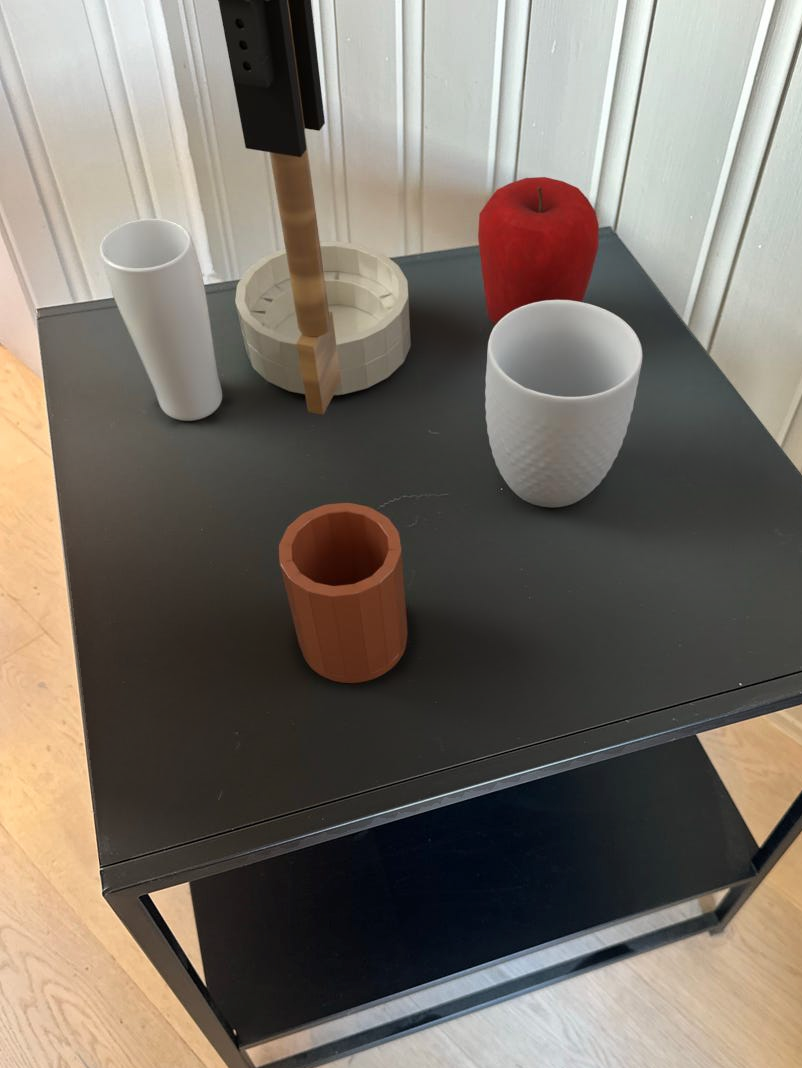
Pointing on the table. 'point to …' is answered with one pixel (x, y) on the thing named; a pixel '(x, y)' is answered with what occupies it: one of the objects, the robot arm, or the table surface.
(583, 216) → the apple
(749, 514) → the table surface
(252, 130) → the robot arm
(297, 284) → the wooden rod
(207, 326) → the white cylinder cup
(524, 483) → the mug
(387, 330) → the bowl
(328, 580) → the crock
